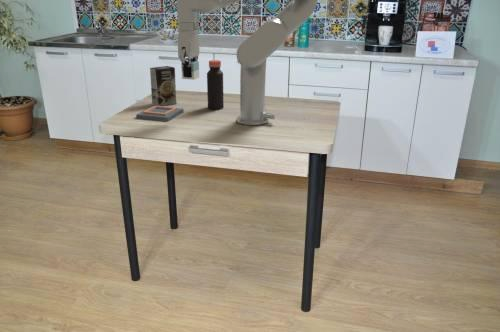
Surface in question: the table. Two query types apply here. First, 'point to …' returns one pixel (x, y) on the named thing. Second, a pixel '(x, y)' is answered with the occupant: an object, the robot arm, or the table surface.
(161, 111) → the slate plate
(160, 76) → the coffee box
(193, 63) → the brick stack
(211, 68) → the bottle
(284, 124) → the table surface
